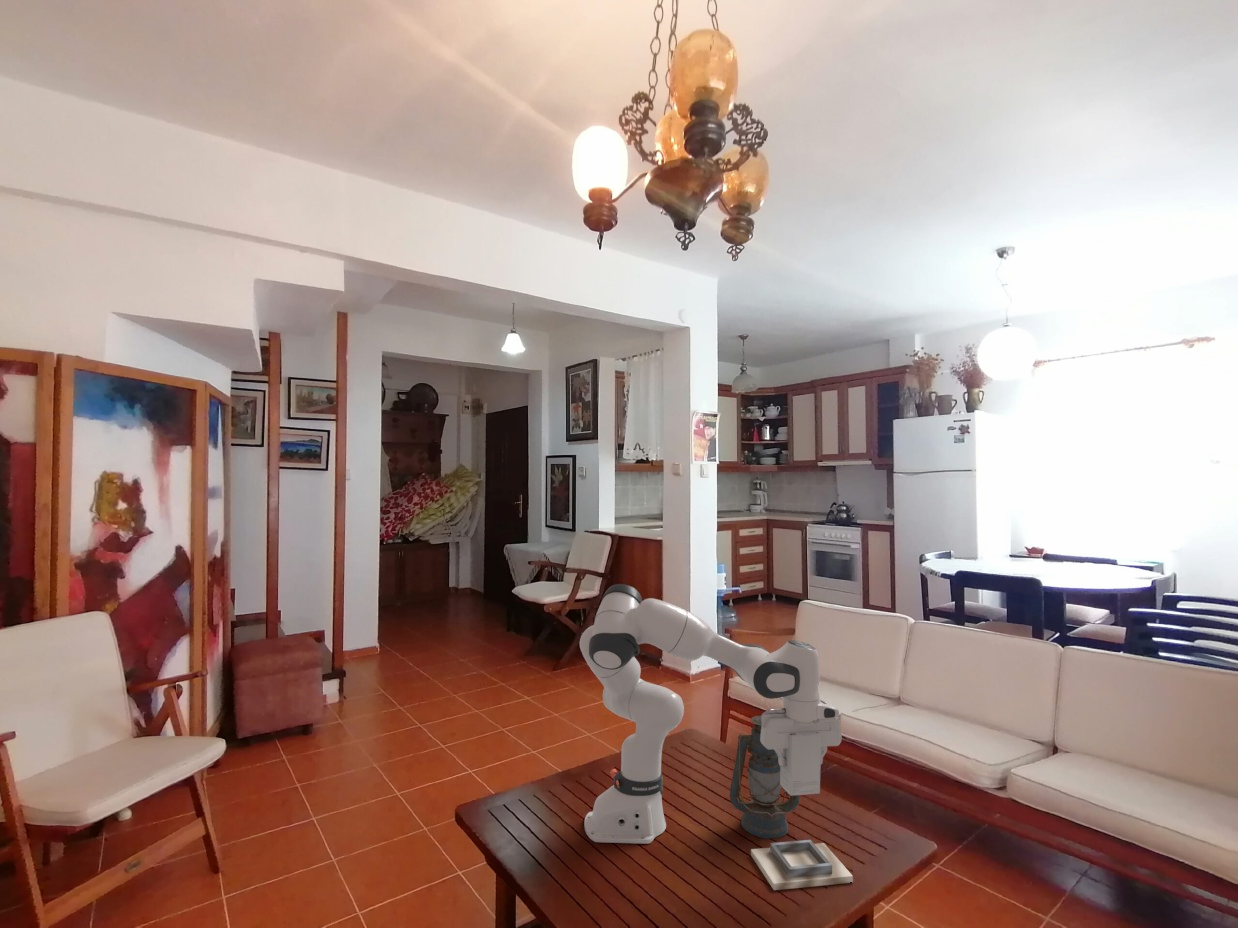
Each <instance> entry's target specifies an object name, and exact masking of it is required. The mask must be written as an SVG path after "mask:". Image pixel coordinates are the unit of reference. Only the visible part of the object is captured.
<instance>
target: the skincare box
mask: <svg viewBox="0 0 1238 928" xmlns="http://www.w3.org/2000/svg"><path fill="white" fill-rule="evenodd" d="M821 737H822V734H820V733H819V732H807V733H793V734H789V748H788V749H783V753H781V755H782V756H784V757H785V758H786V759H787V766H781V767H780V785H781V786H782V788H783V789H784V791H785V790H786V791H787V793H788V794H789V796H793V795H800V796H804V795H815V794H820V793H821V766H822V764H821Z"/></svg>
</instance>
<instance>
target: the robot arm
mask: <svg viewBox="0 0 1238 928" xmlns="http://www.w3.org/2000/svg"><path fill="white" fill-rule="evenodd" d="M642 599H643V598H642V596H641V594H640V592H639V591H638V590H637V589H636V588H635V587H633V586H630V585H627V584H624V583H623V584H622V583H617V584H612V585H611V586H609V587H608V589H607V590H606V591H605V593H604V594H603V596H602V597H601V599H600V600H601V602H600V605H599V607H598V609H597V611H596V615H595V617H594V622H593V625H590V626H589V627H587V628H586V629H585V630H584V631H583V632H582V634H581V636H580V639H579V648H580V652H581V654H582V657H583V658H584V660H585V662H586V664H587V666H588V667H589V668H590V670H591V671H592V672H593V674H594V675H595V677H596V678H597V679H598V681H599V682H600V683H601V684H602V686H603V690H602V702H603V705H604V706H605V708H606V709H607V710H609V711H610V712H612V713H613V714H615V715H617V716H618V717H620V718H624V719H626V720H629V721H632V722H634V723H635V733H632V734H630V735H629V736H627V737H626V738H625V739H624V741H623V743H622V745H621V754H620V755H621V759H620V760H621V761H620V762H621V764H620V766H621V767H620V770H619V771H618V770H617V769H616V768H612V769H611V771H609V773H610V777H611V779H613V785H612V786H610V787H608V789H606V790H604V792H602V793H601V794H600V795H599V796H597V797H596V799H595V801H594V805H593V809H592V811H588V812H587V814H585V818H584V823H583V825H584V826H583V827H584V831H585V834H586V835H587V836H588V838H589V839H590V840H591V841H593V842H594V843H611V844H612V843H614V844H616V843H617V844H644V845H645V844H647V845H649V844H651V843H652V842H653V841H654V839H655V838H656V837H658V836H659V835H661V834H663V833H664V832H665V830H666V828H667V822H666V818H665V815H664V814H665V813H664V808H663V801H662V800H663V799H662V795H663V790H664V778H663V776H664V775H663V773H662V756H663V755H662V754H663V745H664V742H665V740H666V737H667V735H668V734H669V733H670V732H671V731H672V730H675V729H676V728H677V727H678V726H679V725H680V723H681V722H682V720H683V717H684V713H685V706H684V702H683V699H682V697H681V695H679V694H677V693H676V692H675V691H673V690H671V689H670V688H668V687H665V686H663V685H658V684H655V683H652V682H649V681H647V680H644V679H642V678H641V671H642V668H641V665H640V662H639V661H638V659H637V658H636V657H637V656H638V655H639V654H640V651H641V648H640V646H639V645H643V644H649V645H651V646H654V647H656V648H657V649H660V650H662V651H663V652H665V653H668V654H669V655H672V656H674V657H676V658H680V659H682V660H687V661H692V662H693V661H697V660H699V659H700V658H702V657H707V658H710V659H712V660H715V661H717V662H719V663H721V664H723V665H725V666H728V667H730V668H731V669H732V670H733V671H734V673H735V674H736V675H737V676H738V677H739V678H740V680H742V681H744V682H745V683H746V684H748V685H749V686H750V687H751V689H753V690H754V691H755V693H757V694H758V695H759V696H761V697H764V698H766V699H770V700H772V699H773V700H774V699H779V698H782V707H781V708H775V709H773V708H768V709H766V711H764V712H763V713H762V714H761V715H760V716H761V724H762V727H761V735H760V741H761V743H762V744H763V746H764V747H765V748H766V749H768V750H770V749H774V750H775V752H776V754H777V756H778V763H779V765H780V766H787V759H786V758H785V757H784V756H782V755H781V753H783V749H788V748H789V734H793V733H807V732H819V733H820V734H822V737H821V765H822V764H823V763H824V762H823V761H824V760H823V759H824V757H825V755H826V753H827V751H828V747H838V746H840V744H841V743H842V736H843V735H842V726H841V722H840V719H839V716H840V710H838V708H836V707H835V706H834V705H833V704H831V703H829V702H827V701H826V700H822V699H821V698H820V697H821V696H820V692H819V686H820V682H821V669H820V668H821V667H820V664H821V663H820V656H819V653H818V650H817V649H816V648H815V647H814V646H813V645H811V644H809V643H807V642H803V641H800V640H787V641H786V642H785V643H784V644H783V646H781V647H780V648H778V649H777V650H775V651H773V652H769V651H768V649H766V648H765V647H763V646H761V645H759V644H747V643H746V644H743V643H739V642H737V641H736V642H735V641H734V640H732V639H730V638H729V637H725V636H724V635H721V634H719V633H717V632H715V631H714V630H713V629H711V627H710V625H709V624H708V623H707V622H706V621H704V620H703V619H702V618H701V617H698V616H697V615H695V614H694V613H692V612H690V611H688V610H686V609H684V608H682V607H680V606H677V605H675V604H673V603H670V602H667V601H664V600H661V599H657V598H653V597H652V598H651V597H650V598H644V600H642Z"/></svg>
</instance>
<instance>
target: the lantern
mask: <svg viewBox="0 0 1238 928" xmlns="http://www.w3.org/2000/svg"><path fill="white" fill-rule="evenodd" d="M761 716H762V715H755V716H752V717H751V718H750V721H751V723H752V724H754V725H753V727H752V728H751V734H742V733H741V732H740V733H739V735H738V737H737V739H738V740H737V748H736V753H735V762H734V767H733V772H732V779H731V782H730V783H731V784H730V788H729V789H730V791H729V800H730V803H731V804H732V805H733V807H734V808H735V809H737V810H739V811H740V812H742V813H743V815H742V816H741V820H740V825H741V827H742V828H743V830H744V831H746V832H747V833H749V834H750V835H753V836H756V837H759V838H763V839H778V838H779V839H781V838H782V837H784V836H786V835H787V834H788V831H789V824H788V820H787V819H786V814H790V813H791V814H792V813H793V812H794V811H795V810H797V808H798V806H799V804H800V803H801V795H793V796H790V795H789V794H788V793H787V791H786V790H785V789H784V791H785V792H784V793H783V798H782V801H779V799H780V798H781V796H780V793H781V791H782V788H783V787H782V786H781V785H780V767H781V766H780V765H779V763H778V756H777V754H776V752H775V750H774V749H770V750H768V749H766V748H765V747H764V746H763V744H762V743H761V741H760V735H761V727H762V724H761ZM747 752H748V753H749V754H751V755H750V757H749V759H748V763H747V766H748V768H747V779H748V786H749V795H746V798H748V799H751V800H750V801H747V802H746V801H745V800H744V799H743V793H742V787H741V786H742V778H743V773H744V767H745V761H746V754H747ZM785 796H786V797H788V796H790V797H789V798H788V799H787V800H786V801H784V800H785Z"/></svg>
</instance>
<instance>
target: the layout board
mask: <svg viewBox="0 0 1238 928" xmlns="http://www.w3.org/2000/svg"><path fill="white" fill-rule="evenodd" d="M750 856H751V858H752V860H753V861H754V863H756V866H757V867H758V869H759V870H760V872H761V873H762V875H763V876H764V878H765V879H766V880H767V882H768V884H769V886H771V888H772V890H773V891H781V890H790V889H801V888H809V887H811V888H812V887H819V886H820V887H822V886H830V885H831V886H832V885H840V884H841V885H842V884H850V882H852V883H854V876H853V874H852V873H851V872H850V871H849V870H848V869H847V868H846V866H845V865H844V864H843V863H842V862H841V861H840V860H839V858H838V857H837V856H836V855H835V854H834V853H833V852H832V850H830V848H829V847H828V846H827V845H826V844H825V842H823V843H822V842H819V843H814V842H813V841H812V840H811V839H804V840H791V841H782V842H781V841H780V842H779V841H778V842H770V843H769V847H761V848H751V849H750Z"/></svg>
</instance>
